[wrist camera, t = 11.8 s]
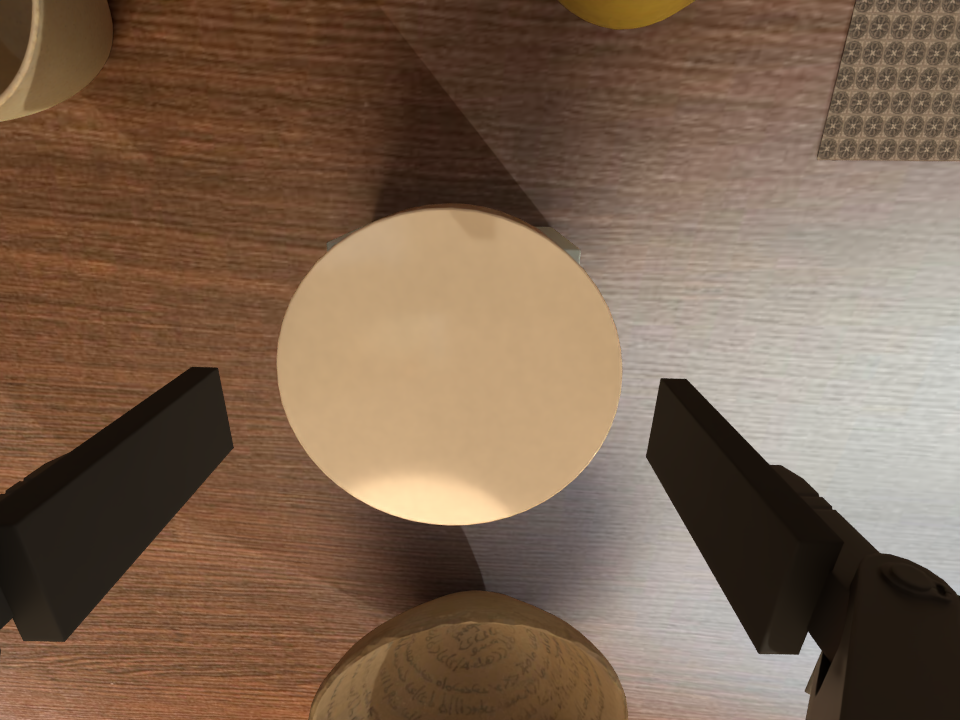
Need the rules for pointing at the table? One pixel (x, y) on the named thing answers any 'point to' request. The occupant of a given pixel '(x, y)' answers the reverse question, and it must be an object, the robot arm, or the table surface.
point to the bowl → (472, 667)
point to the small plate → (449, 365)
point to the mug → (624, 11)
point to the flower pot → (50, 51)
